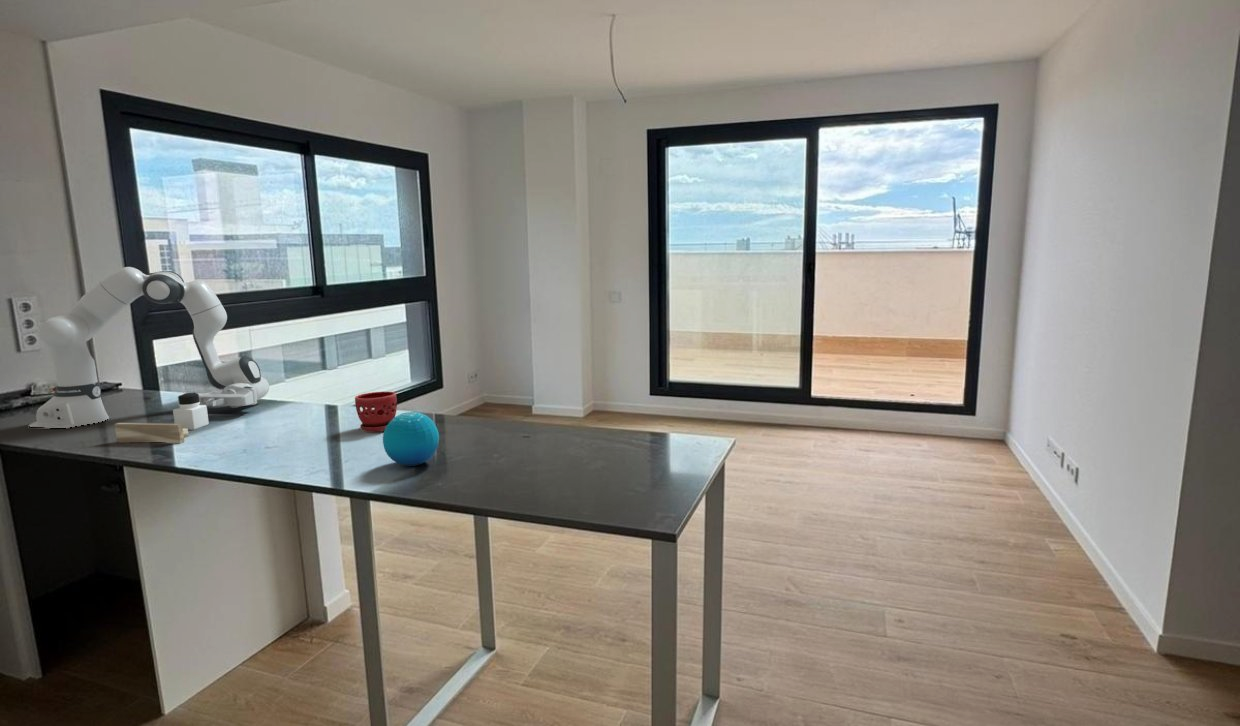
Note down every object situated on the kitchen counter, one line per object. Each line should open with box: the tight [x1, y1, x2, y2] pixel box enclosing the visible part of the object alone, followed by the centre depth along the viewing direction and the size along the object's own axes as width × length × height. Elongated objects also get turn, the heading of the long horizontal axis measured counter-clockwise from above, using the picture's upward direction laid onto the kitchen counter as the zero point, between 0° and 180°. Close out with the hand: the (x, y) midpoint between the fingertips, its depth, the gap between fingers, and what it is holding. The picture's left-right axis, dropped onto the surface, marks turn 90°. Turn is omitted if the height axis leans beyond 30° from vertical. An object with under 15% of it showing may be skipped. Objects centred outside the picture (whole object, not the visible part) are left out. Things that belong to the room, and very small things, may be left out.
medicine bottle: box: [172, 392, 210, 431], centre depth 221 cm, size 7×7×12 cm
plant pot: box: [354, 391, 398, 433], centre depth 216 cm, size 13×13×12 cm
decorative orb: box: [382, 411, 440, 467], centre depth 178 cm, size 15×15×15 cm
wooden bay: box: [113, 422, 190, 444], centre depth 208 cm, size 8×22×6 cm, turn 84°
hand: (209, 404), depth 230 cm, fingers closed
